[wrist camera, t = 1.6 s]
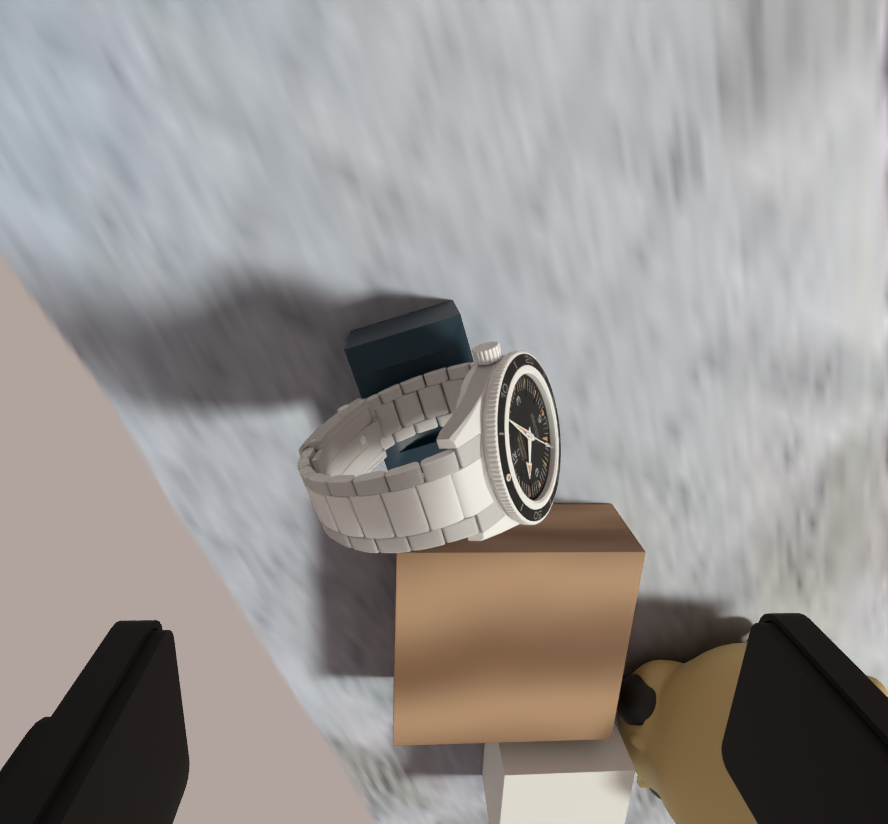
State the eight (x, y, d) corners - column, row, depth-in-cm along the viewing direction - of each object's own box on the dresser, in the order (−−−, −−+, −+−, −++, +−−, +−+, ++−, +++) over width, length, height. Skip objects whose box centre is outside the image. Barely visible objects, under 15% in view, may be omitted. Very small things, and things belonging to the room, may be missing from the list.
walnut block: (397, 503, 27) (397, 553, 23) (611, 504, 28) (645, 551, 24) (393, 677, 30) (393, 745, 27) (585, 673, 31) (611, 739, 27)
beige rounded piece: (660, 572, 34) (557, 711, 27) (931, 634, 25) (873, 860, 19) (691, 701, 37) (604, 854, 30) (941, 798, 28) (895, 1041, 22)
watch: (530, 408, 26) (618, 549, 16) (354, 461, 26) (325, 633, 16) (498, 283, 24) (575, 349, 14) (308, 341, 24) (242, 449, 14)
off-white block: (488, 688, 31) (504, 775, 27) (600, 685, 32) (635, 770, 27) (481, 772, 33) (495, 867, 29) (586, 768, 34) (617, 861, 29)
